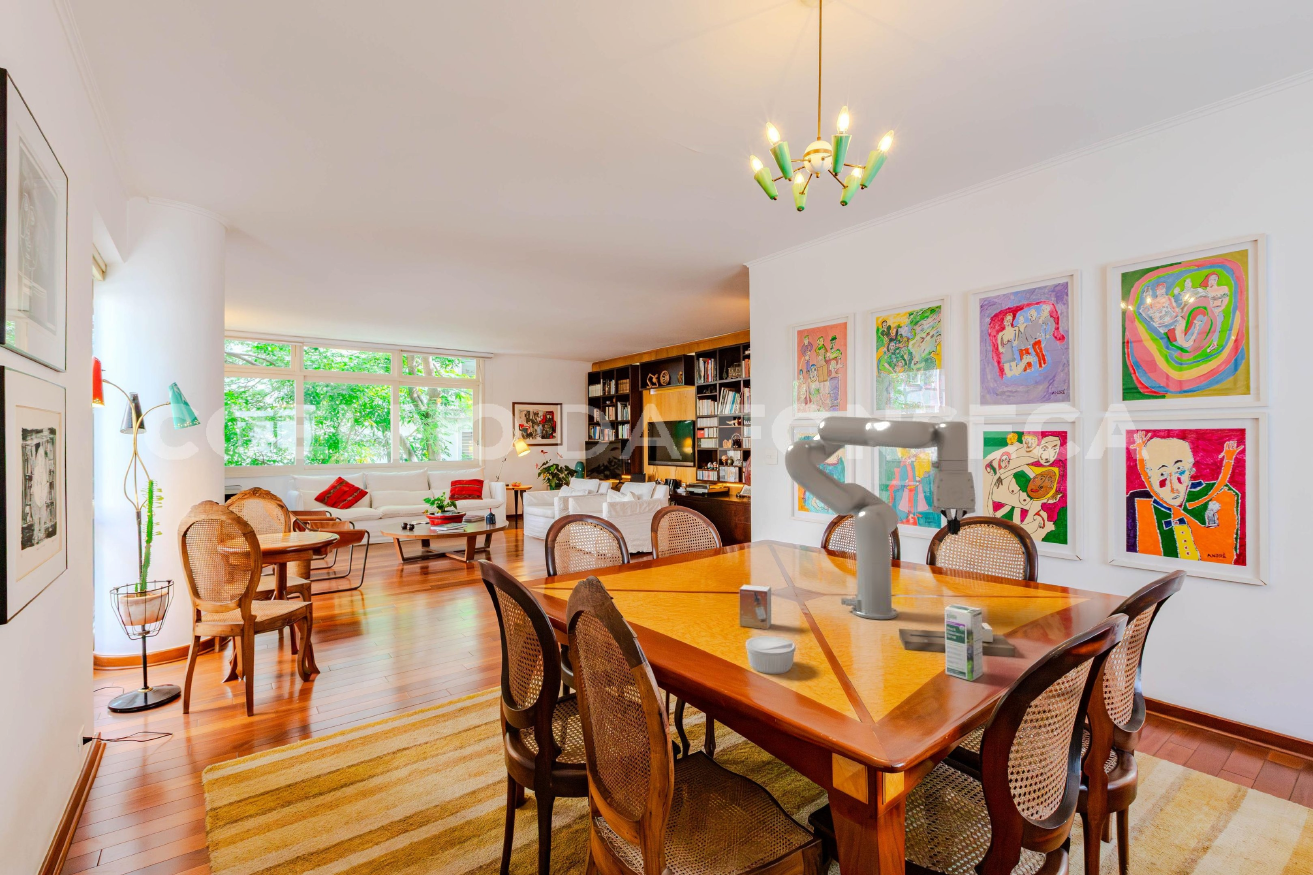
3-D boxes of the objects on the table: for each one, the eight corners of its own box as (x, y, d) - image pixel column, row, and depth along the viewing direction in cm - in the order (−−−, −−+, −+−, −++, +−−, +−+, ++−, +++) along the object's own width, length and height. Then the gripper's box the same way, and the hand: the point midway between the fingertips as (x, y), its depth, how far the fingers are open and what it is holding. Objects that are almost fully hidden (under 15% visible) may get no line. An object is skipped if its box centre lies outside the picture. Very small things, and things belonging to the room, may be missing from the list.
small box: (738, 626, 166) (738, 588, 166) (743, 620, 171) (743, 583, 171) (767, 629, 163) (767, 590, 163) (771, 623, 168) (771, 586, 168)
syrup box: (944, 674, 130) (943, 607, 130) (956, 667, 134) (955, 602, 134) (972, 682, 126) (970, 612, 126) (983, 674, 130) (982, 607, 130)
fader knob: (974, 640, 144) (974, 627, 144) (969, 634, 149) (968, 621, 149) (992, 641, 143) (992, 628, 143) (986, 635, 148) (986, 622, 148)
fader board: (904, 649, 146) (904, 640, 146) (898, 636, 156) (898, 628, 156) (1015, 656, 140) (1014, 647, 140) (1001, 642, 150) (1001, 634, 150)
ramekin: (785, 680, 128) (785, 655, 128) (737, 670, 134) (737, 646, 134) (802, 663, 138) (802, 640, 138) (757, 654, 144) (756, 632, 144)
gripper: (925, 467, 162) (926, 535, 162) (986, 467, 158) (987, 537, 158) (920, 466, 169) (921, 531, 169) (979, 466, 165) (980, 532, 165)
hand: (953, 534), depth 163 cm, fingers closed
